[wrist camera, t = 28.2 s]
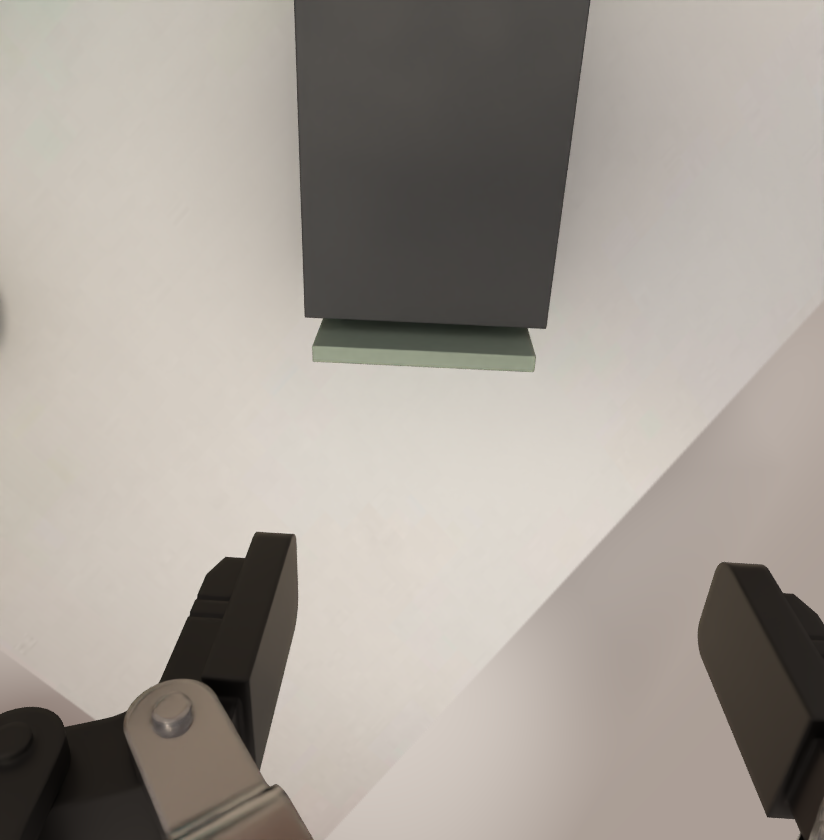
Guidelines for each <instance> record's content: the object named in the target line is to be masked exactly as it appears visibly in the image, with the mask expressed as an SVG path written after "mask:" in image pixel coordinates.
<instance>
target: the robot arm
mask: <svg viewBox="0 0 824 840" xmlns="http://www.w3.org/2000/svg"><path fill="white" fill-rule="evenodd" d="M297 610H298V575H297V544H296V536H295V534H283V533H267V532H256V533H255V534H254V536H253V539H252V542H251V544H250V547H249V550H248V552H247V555H246V558H234V557H225V558H224V559H223V560H222V561H220V562H219V563H218V564H217V565H216V566H215V567H214V568H213V569H212V570H211V571H210V572H209V573H207V574H206V577H205V579H204V581H203V583H202V586H201V588H200V590H199V593H198V595H197V599H196V600H195V602H194V604H193V606H192V609H191V611H190V616H189V617H188V618H187V620H186V623H185V625H184V627H183V629H182V632H181V634H180V636H179V639H178V641H177V643H176V645H175V648H174V650H173V652H172V655H171V657H170V659H169V662H168V664H167V666H166V668H165V671H164V673H163V675H162V678H161V680H160V682H159V683H158V684H157V685H155V686H153V687H151V688H149V689H147V690H146V691H144V692H143V693H142V694H141V695H139V696H138V697H137V698H136V699H135V700H134V701H133V703H132V704H131V705H130V707H129V709H128V710H127V711H126V712H124V713H121V714H119V715H116V716H113V717H110V718H106V719H101V720H96V721H92V722H87V723H82V724H77V725H72V726H68V727H64V725H63V722H62V720H61V719H60V718H59V716H58V715H56V714H55V713H54V712H52V711H50V710H48V709H44V708H39V707H24V708H18V709H14V710H10V711H7V712H4V713H2V714H0V840H314V839H313V838H312V836H311V834H310V833H309V831H308V829H307V827H306V826H305V824H304V822H303V821H302V819H301V817H300V815H299V814H298V812H297V810H296V809H295V807H294V805H293V803H292V802H291V800H290V798H289V797H288V795H287V794H286V792H285V791H284V790H283V789H282V788H281V787H280V786H279V785H277V784H275V785H273V786H271V787H270V786H269V785H268V784H267V783H266V781H265V780H264V778H263V776H262V775H261V773H260V767H261V763H262V759H263V755H264V751H265V747H266V743H267V739H268V735H269V731H270V727H271V723H272V719H273V715H274V711H275V707H276V703H277V699H278V695H279V691H280V687H281V683H282V679H283V675H284V671H285V666H286V662H287V658H288V654H289V650H290V646H291V642H292V638H293V634H294V630H295V625H296V619H297ZM698 645H699V651H700V655H701V658H702V660H703V663H704V665H705V667H706V670H707V672H708V675H709V677H710V679H711V682H712V684H713V687H714V689H715V692H716V694H717V697H718V699H719V701H720V704H721V706H722V708H723V711H724V714H725V716H726V718H727V721H728V723H729V726H730V728H731V730H732V733H733V735H734V738H735V740H736V743H737V745H738V747H739V750H740V752H741V755H742V757H743V759H744V762H745V764H746V767H747V769H748V771H749V774H750V776H751V779H752V781H753V784H754V786H755V788H756V791H757V793H758V796H759V798H760V801H761V803H762V805H763V808H764V810H765V813H766V815H767V817H771V818H786V819H795V821H796V823H797V825H798V828H799V830H800V834H799V836H798V839H797V840H824V624H823V622H822V621H821V619H820V618H819V616H818V614H816V613H815V612H814V611H813V610H812V609H811V608H809V607H808V606H807V605H806V604H805V603H804V602H802V601H801V600H800V599H799V598H798V597H796V596H795V595H794V594H786V593H783V592H782V591H781V589H780V588H779V586H778V584H777V583H776V581H775V579H774V578H773V576H772V574H771V573H770V571H769V570H768V568H767V567H765V566H764V565H760V564H744V563H728V562H722V563H720V564H719V565H718V566H717V568H716V571H715V573H714V577H713V580H712V583H711V586H710V590H709V593H708V596H707V599H706V602H705V605H704V609H703V612H702V616H701V618H700V622H699V627H698Z"/></svg>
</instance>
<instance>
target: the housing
mask: <svg viewBox="0 0 824 840" xmlns="http://www.w3.org/2000/svg"><path fill="white" fill-rule="evenodd" d="M589 6H590V0H294V12H295V42H296V71H297V101H298V131H299V160H300V190H301V219H302V249H303V279H304V308H305V317H307V318H328V319H349V320H371V321H392V322H413V323H434V324H455V325H477V326H498V327H519V328H540V329H546V326H547V318H548V311H549V303H550V296H551V288H552V281H553V274H554V266H555V259H556V251H557V244H558V237H559V229H560V222H561V214H562V207H563V199H564V192H565V185H566V177H567V170H568V162H569V155H570V147H571V140H572V133H573V125H574V118H575V110H576V103H577V95H578V88H579V81H580V73H581V66H582V58H583V51H584V43H585V36H586V29H587V21H588V14H589Z"/></svg>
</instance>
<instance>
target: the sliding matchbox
mask: <svg viewBox="0 0 824 840" xmlns="http://www.w3.org/2000/svg"><path fill="white" fill-rule="evenodd" d="M312 354H313V361H314V362H332V363H353V364H374V365H395V366H415V367H436V368H457V369H478V370H499V371H520V372H534V368H535V361H536V356H535V352H534V349H533V346H532V342H531V339H530V335H529V332H528V329H527V328H519V327H498V326H477V325H455V324H434V323H413V322H392V321H371V320H349V319H328V318H323V320H322V323H321V325H320V328H319V331H318V333H317V336H316V338H315V341H314V343H313V346H312Z"/></svg>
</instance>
